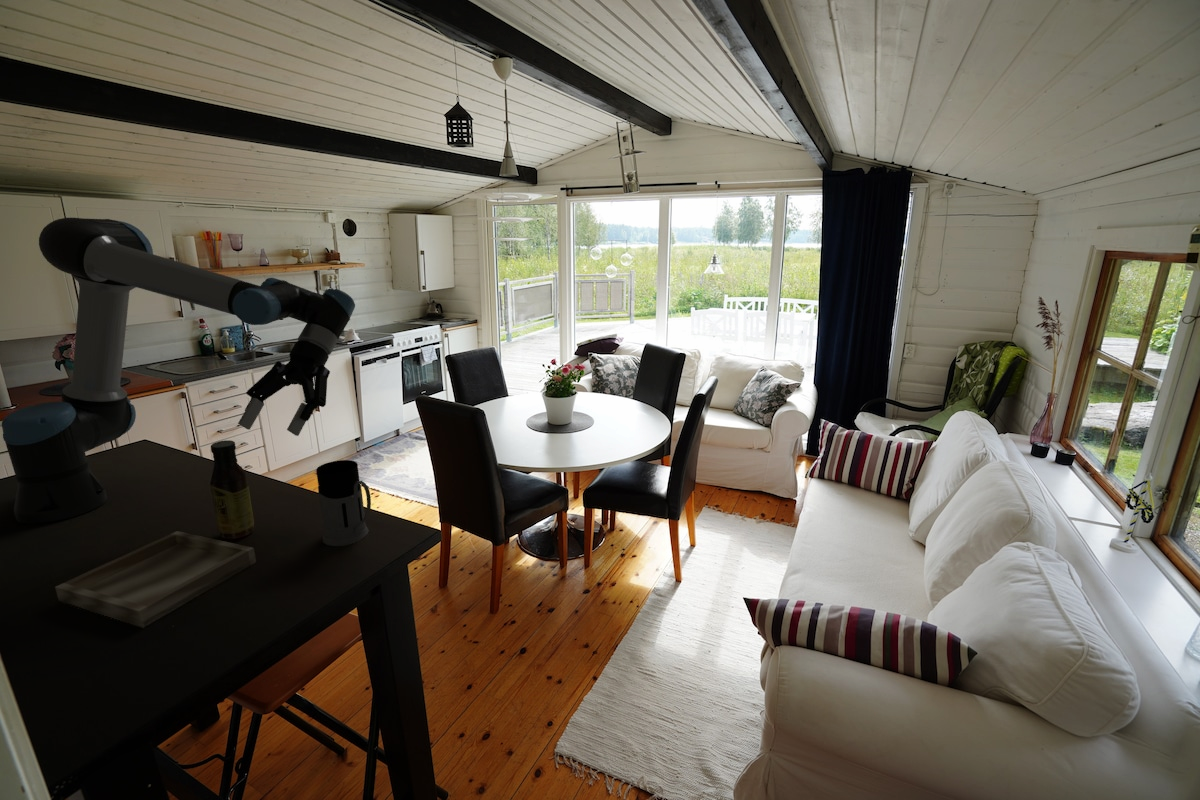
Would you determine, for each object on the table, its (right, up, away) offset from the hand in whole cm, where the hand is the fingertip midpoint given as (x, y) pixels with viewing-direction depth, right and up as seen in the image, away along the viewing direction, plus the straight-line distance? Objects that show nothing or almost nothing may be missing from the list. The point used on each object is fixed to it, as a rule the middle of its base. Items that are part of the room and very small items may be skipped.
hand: (267, 429), depth 121 cm
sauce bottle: (-3, -21, -4) cm, 22 cm away
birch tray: (-6, -26, -21) cm, 34 cm away
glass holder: (+21, -22, -6) cm, 31 cm away
